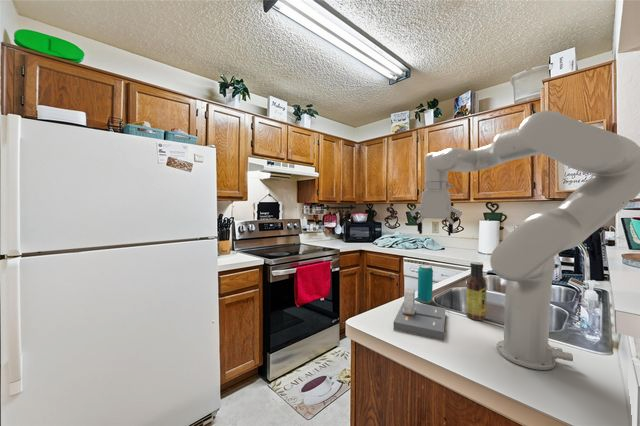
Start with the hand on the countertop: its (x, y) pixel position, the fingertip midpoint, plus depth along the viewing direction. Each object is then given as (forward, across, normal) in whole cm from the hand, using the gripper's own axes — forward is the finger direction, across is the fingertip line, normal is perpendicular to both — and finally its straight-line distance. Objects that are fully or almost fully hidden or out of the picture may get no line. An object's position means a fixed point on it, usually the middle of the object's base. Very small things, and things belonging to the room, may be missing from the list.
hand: (434, 234), depth 95 cm
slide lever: (+27, +7, +7) cm, 29 cm away
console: (+30, +4, +7) cm, 31 cm away
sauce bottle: (+31, -14, -6) cm, 34 cm away
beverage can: (+31, +4, -14) cm, 34 cm away
